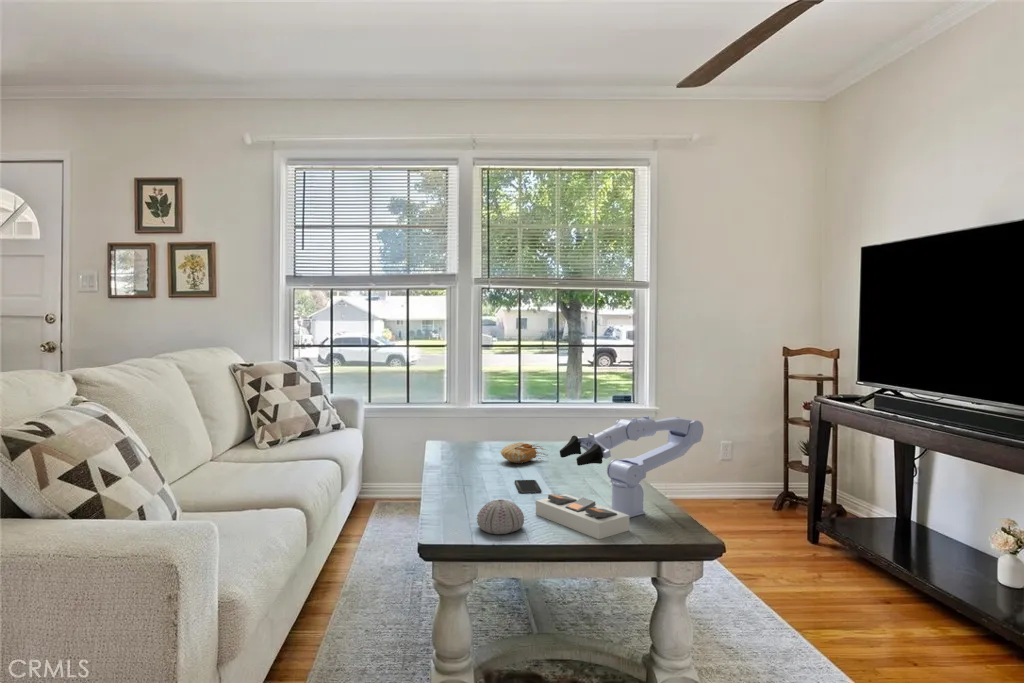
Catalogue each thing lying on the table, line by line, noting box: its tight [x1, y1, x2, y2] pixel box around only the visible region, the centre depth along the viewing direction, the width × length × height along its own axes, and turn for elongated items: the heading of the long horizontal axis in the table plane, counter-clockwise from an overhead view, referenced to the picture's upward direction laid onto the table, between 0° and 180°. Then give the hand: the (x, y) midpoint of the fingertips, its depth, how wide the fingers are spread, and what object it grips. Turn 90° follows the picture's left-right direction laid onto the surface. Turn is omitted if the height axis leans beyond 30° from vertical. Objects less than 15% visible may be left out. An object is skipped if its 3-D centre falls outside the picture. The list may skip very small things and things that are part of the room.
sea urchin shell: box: [476, 498, 525, 535], centre depth 163 cm, size 13×14×8 cm
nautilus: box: [500, 441, 549, 464], centre depth 246 cm, size 8×22×15 cm
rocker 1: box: [547, 494, 577, 504], centre depth 175 cm, size 7×5×2 cm
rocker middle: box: [566, 497, 597, 512], centre depth 169 cm, size 7×5×2 cm
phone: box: [514, 479, 542, 494], centre depth 206 cm, size 8×1×15 cm
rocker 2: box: [586, 508, 617, 518], centre depth 162 cm, size 7×5×2 cm
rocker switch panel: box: [535, 493, 630, 540], centre depth 169 cm, size 12×26×4 cm, turn 37°
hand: (568, 458), depth 166 cm, fingers open, 7 cm apart
